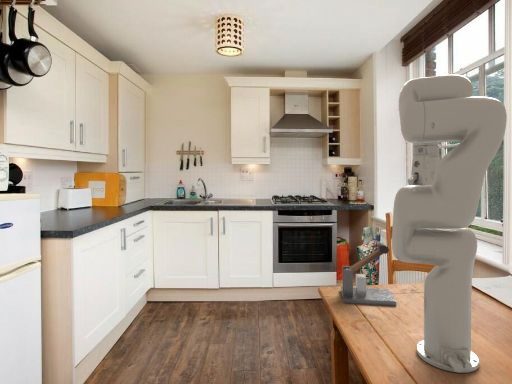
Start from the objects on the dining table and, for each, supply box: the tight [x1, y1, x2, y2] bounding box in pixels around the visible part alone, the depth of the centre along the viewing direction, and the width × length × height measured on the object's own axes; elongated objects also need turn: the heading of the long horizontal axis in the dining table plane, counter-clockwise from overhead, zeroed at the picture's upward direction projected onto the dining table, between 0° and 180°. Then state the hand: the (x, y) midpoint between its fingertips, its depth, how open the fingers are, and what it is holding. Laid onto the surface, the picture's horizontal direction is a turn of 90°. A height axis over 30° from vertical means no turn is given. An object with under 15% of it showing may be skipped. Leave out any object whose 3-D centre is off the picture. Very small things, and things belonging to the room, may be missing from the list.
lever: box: [347, 242, 390, 274], centre depth 112 cm, size 6×17×3 cm
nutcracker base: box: [340, 265, 397, 307], centre depth 112 cm, size 12×17×10 cm
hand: (425, 204), depth 103 cm, fingers open, 9 cm apart
